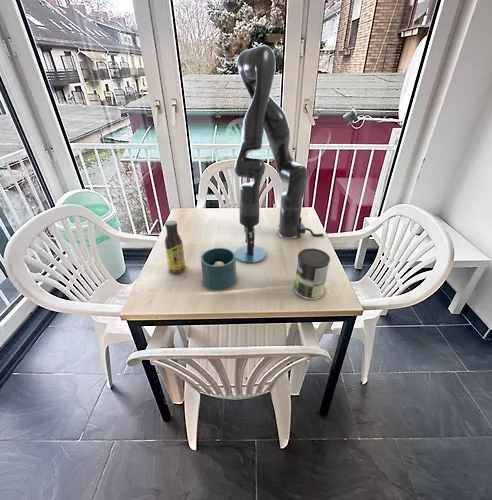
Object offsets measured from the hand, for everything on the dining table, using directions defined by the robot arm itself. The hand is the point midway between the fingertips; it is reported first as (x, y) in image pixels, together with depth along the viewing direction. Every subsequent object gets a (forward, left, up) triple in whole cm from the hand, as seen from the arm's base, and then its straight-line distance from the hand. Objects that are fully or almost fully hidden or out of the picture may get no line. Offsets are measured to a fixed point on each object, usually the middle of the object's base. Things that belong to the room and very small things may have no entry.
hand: (249, 247), depth 116 cm
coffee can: (-19, +24, -4) cm, 31 cm away
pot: (+12, +15, -4) cm, 20 cm away
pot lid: (-1, 0, -3) cm, 3 cm away
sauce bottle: (+28, +6, -4) cm, 29 cm away
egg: (+12, +15, -4) cm, 20 cm away
